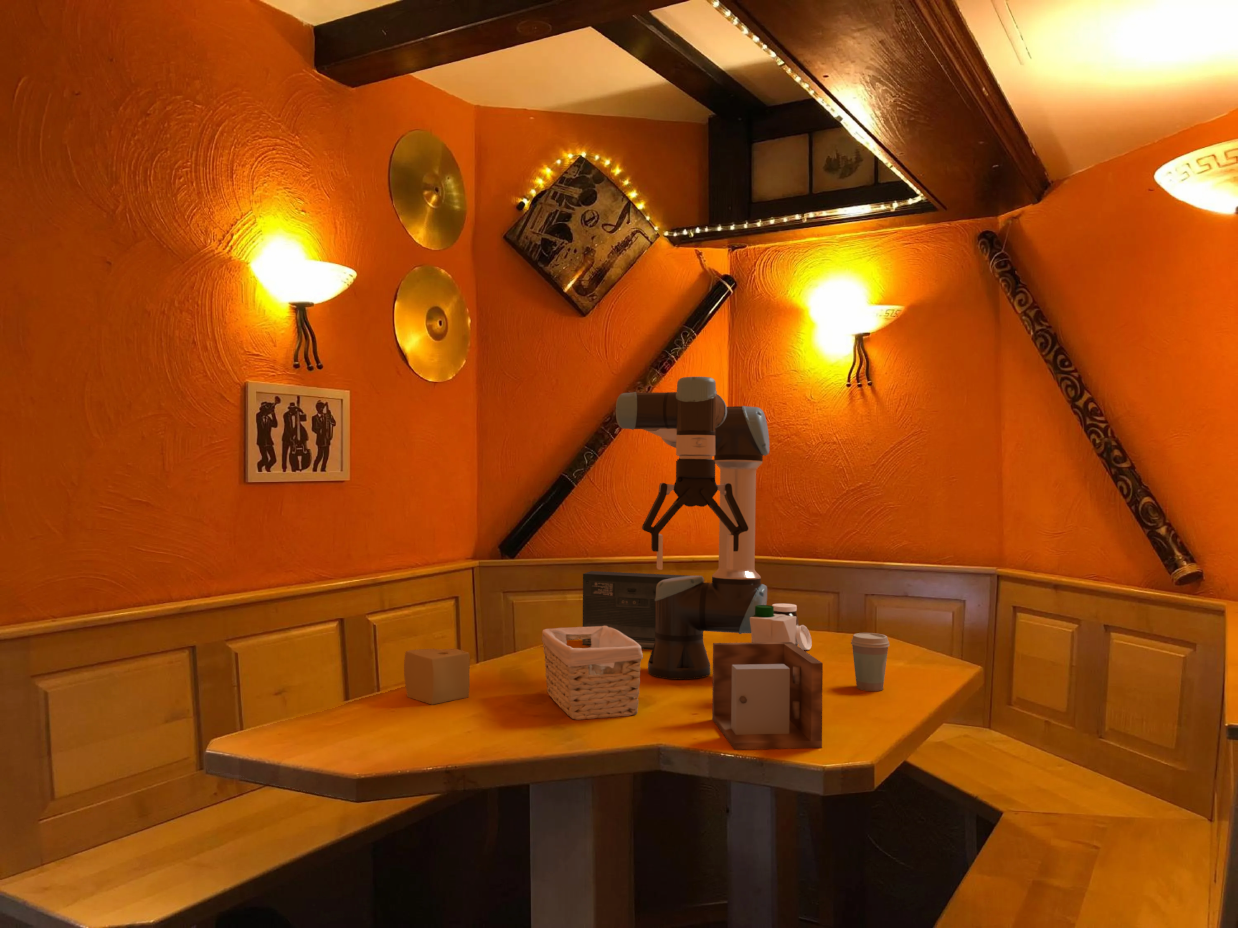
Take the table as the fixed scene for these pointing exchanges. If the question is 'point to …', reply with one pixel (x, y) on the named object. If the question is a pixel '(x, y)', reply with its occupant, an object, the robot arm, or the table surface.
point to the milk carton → (772, 626)
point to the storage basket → (592, 672)
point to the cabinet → (802, 693)
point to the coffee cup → (870, 660)
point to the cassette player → (622, 603)
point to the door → (760, 699)
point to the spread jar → (801, 631)
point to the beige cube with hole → (436, 675)
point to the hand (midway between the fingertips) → (694, 568)
